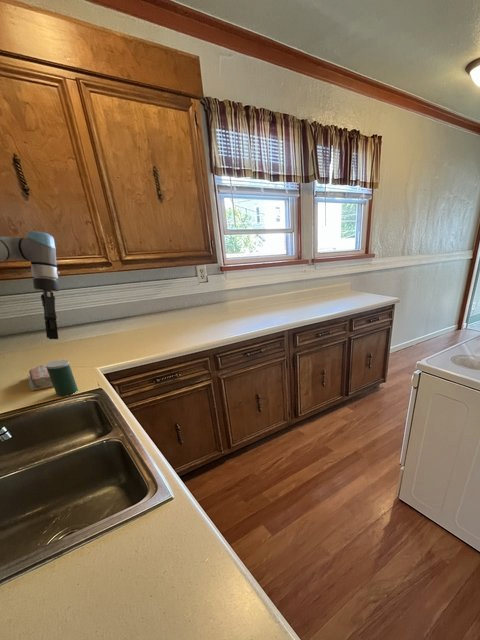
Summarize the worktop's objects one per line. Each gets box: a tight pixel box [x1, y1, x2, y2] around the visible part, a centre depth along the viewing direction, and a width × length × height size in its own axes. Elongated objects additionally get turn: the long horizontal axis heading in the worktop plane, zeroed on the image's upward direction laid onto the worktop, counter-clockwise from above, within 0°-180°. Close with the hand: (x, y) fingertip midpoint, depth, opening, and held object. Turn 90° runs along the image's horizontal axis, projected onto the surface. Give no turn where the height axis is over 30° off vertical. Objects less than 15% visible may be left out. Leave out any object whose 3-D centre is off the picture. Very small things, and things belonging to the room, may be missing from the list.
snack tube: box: [44, 359, 79, 397], centre depth 123 cm, size 7×7×12 cm
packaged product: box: [26, 364, 54, 392], centre depth 134 cm, size 18×5×10 cm
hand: (52, 338), depth 122 cm, fingers open, 13 cm apart
